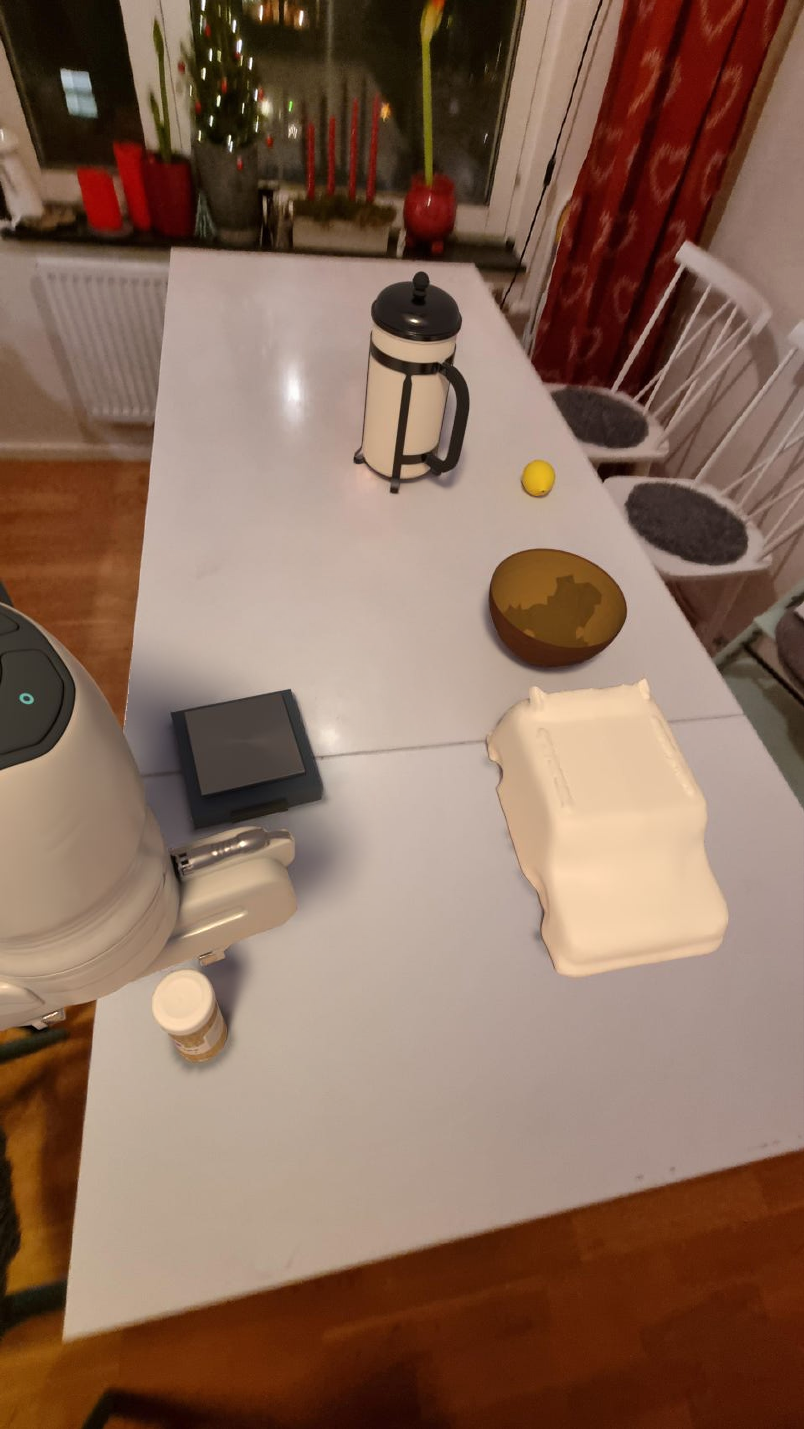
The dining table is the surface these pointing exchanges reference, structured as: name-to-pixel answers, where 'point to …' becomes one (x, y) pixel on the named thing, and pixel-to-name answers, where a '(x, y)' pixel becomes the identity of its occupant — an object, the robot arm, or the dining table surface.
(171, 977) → the sprinkles bottle
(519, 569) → the bowl
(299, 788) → the scale
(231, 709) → the scale pan
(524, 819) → the egg carton
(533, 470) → the lemon
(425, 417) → the coffee press
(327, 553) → the dining table surface
